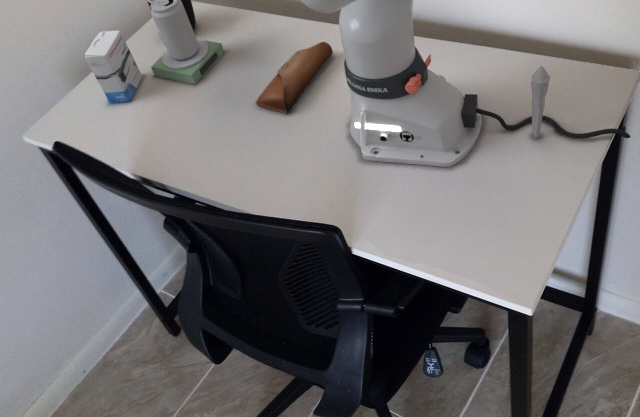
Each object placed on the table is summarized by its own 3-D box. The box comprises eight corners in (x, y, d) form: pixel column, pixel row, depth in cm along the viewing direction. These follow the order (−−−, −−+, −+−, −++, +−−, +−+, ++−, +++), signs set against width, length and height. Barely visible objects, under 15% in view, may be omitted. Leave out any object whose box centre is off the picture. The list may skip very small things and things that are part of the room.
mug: (209, 24, 146) (194, -16, 138) (181, 47, 142) (164, 6, 135) (173, 14, 152) (157, -26, 145) (146, 35, 148) (128, -4, 141)
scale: (225, 52, 137) (221, 40, 135) (196, 84, 132) (191, 73, 130) (184, 45, 142) (180, 33, 140) (154, 76, 137) (149, 64, 135)
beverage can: (194, 61, 132) (173, 10, 123) (166, 62, 134) (143, 12, 125) (204, 42, 136) (184, -9, 127) (176, 44, 138) (155, -7, 129)
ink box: (130, 102, 132) (105, 54, 124) (108, 103, 133) (82, 56, 125) (143, 75, 138) (120, 28, 129) (122, 77, 139) (98, 30, 130)
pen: (535, 128, 106) (540, 58, 95) (548, 136, 104) (555, 65, 94) (524, 136, 105) (528, 66, 95) (537, 144, 103) (542, 73, 93)
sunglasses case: (297, 48, 132) (306, 26, 127) (326, 66, 132) (336, 45, 127) (253, 105, 123) (260, 84, 117) (284, 125, 123) (292, 105, 117)
